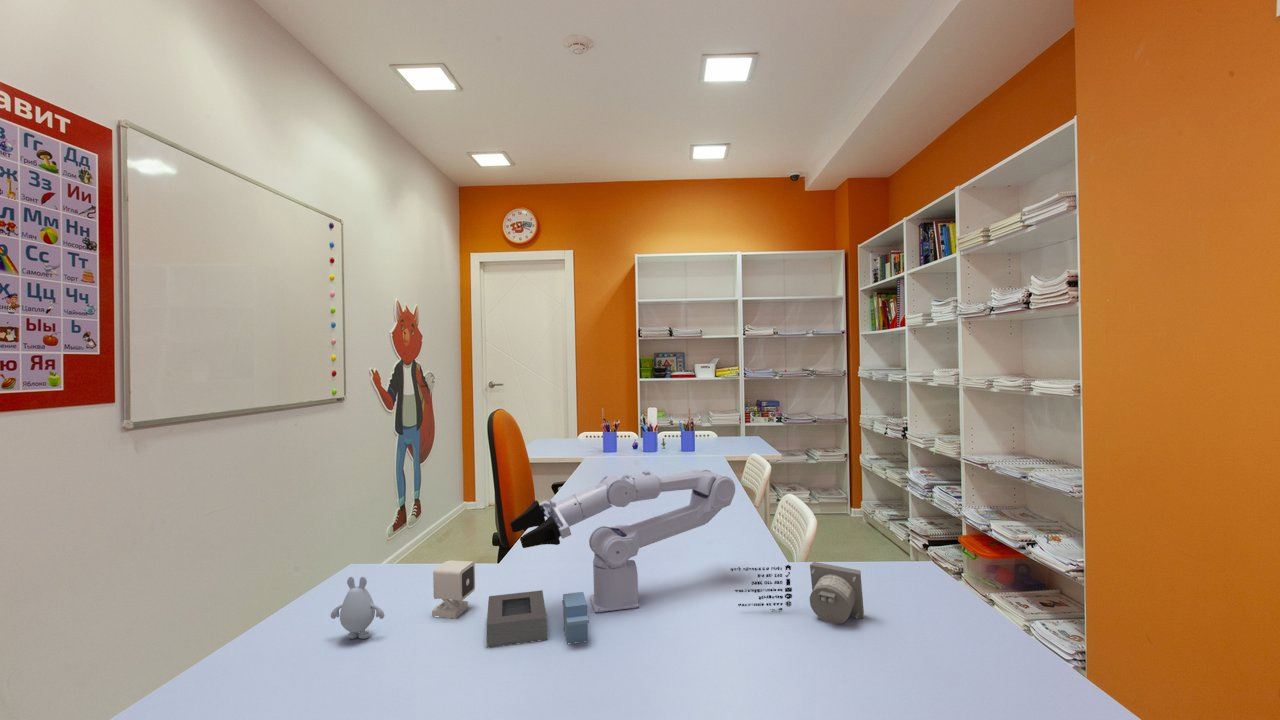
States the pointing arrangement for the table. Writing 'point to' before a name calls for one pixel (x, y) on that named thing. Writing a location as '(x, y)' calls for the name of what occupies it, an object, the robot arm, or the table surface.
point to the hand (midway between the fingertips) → (516, 535)
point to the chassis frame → (516, 618)
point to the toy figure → (357, 610)
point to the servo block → (575, 617)
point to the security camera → (453, 587)
